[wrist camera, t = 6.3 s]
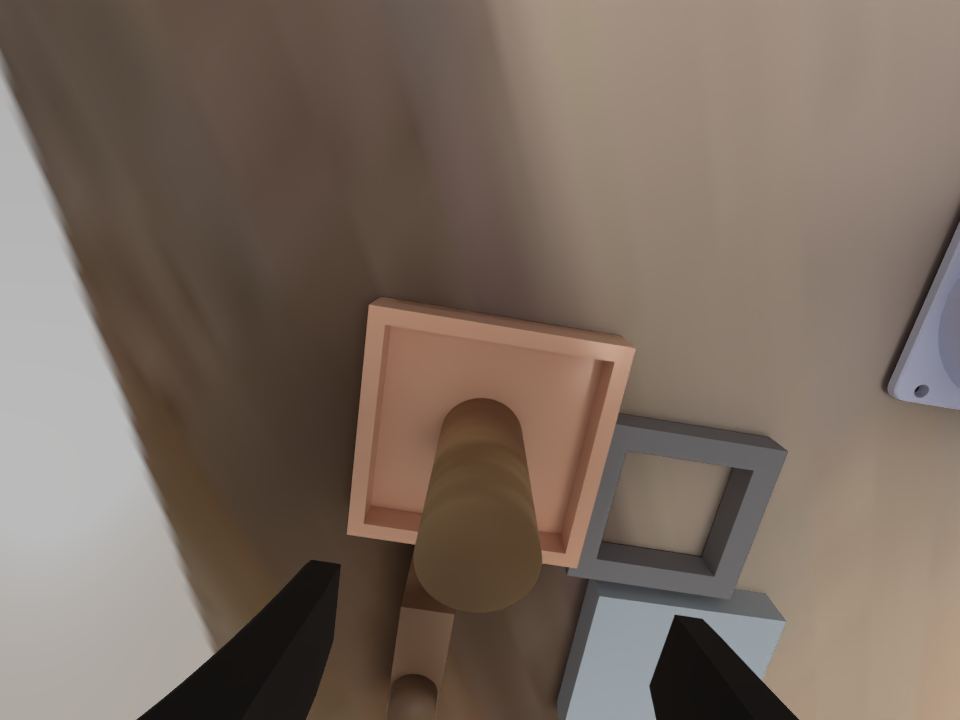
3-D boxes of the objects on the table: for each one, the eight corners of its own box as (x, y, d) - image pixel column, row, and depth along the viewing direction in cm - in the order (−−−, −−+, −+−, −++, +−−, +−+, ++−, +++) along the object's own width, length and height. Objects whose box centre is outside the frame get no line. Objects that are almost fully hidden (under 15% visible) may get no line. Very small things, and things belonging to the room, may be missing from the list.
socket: (769, 437, 19) (788, 451, 18) (716, 578, 21) (730, 599, 20) (599, 410, 18) (607, 422, 17) (562, 555, 20) (567, 575, 19)
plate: (759, 585, 21) (786, 621, 19) (709, 712, 24) (729, 756, 22) (589, 562, 21) (599, 596, 19) (555, 692, 23) (561, 734, 22)
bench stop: (460, 550, 20) (452, 637, 16) (435, 686, 23) (423, 794, 18) (415, 543, 20) (395, 629, 16) (395, 680, 23) (373, 788, 18)
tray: (621, 336, 18) (636, 348, 16) (569, 538, 20) (576, 568, 18) (380, 296, 17) (369, 304, 16) (359, 507, 20) (347, 534, 18)
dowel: (534, 414, 18) (562, 529, 11) (504, 482, 19) (514, 627, 12) (456, 386, 18) (437, 488, 11) (429, 457, 19) (397, 591, 12)
